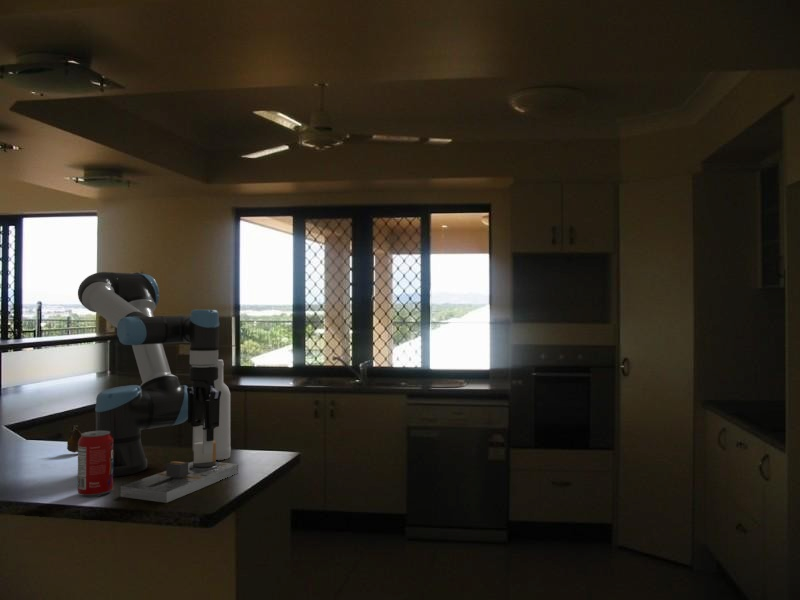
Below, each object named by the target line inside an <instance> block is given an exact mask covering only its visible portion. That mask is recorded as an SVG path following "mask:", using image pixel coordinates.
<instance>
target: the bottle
mask: <svg viewBox="0 0 800 600" xmlns="http://www.w3.org/2000/svg"><path fill="white" fill-rule="evenodd" d="M216 366H217V367H218V379H217V380H215V381H214V385H215V389H216V390H217V391H219V390H220V391H221V396H220V409H219V426H218V427H215V428H214V439H213V441H215V442H216V460H218V461H223V460H224V459H225V460H228V459H229V458H231V453H232V451H231V450H232V447H231V391H230V389H229V386H227V384H226V383H225V382H224V366H225V363H224V360H223V359H218V364H217V365H216ZM206 401H208V400H206ZM203 423H204V422H203ZM203 428H205V423H204V424H203Z"/></svg>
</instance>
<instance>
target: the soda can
mask: <svg viewBox="0 0 800 600" xmlns="http://www.w3.org/2000/svg"><path fill="white" fill-rule="evenodd" d="M81 433H82V434H81V438H80V439H79V441H78V452H77V493H78V494H79V495H81V496H83V497H87V498H88V497H90V498H93V497H101V496H104V495H106V494H108V493H109V492H111V491H112V490H113V489H114V477H113V437H112V436H111V435H110V431H96V430H93V431H91V430H90V431H85V432H81Z"/></svg>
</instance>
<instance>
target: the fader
mask: <svg viewBox="0 0 800 600" xmlns="http://www.w3.org/2000/svg"><path fill="white" fill-rule="evenodd" d="M188 463H189V462H187V461H178V460H173V461H170V462H168V463H166V465H165V466H166V469H165V471H166V476H168V477H172V480H174V479H177V478H181V477H184V476H187V475H188Z"/></svg>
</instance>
